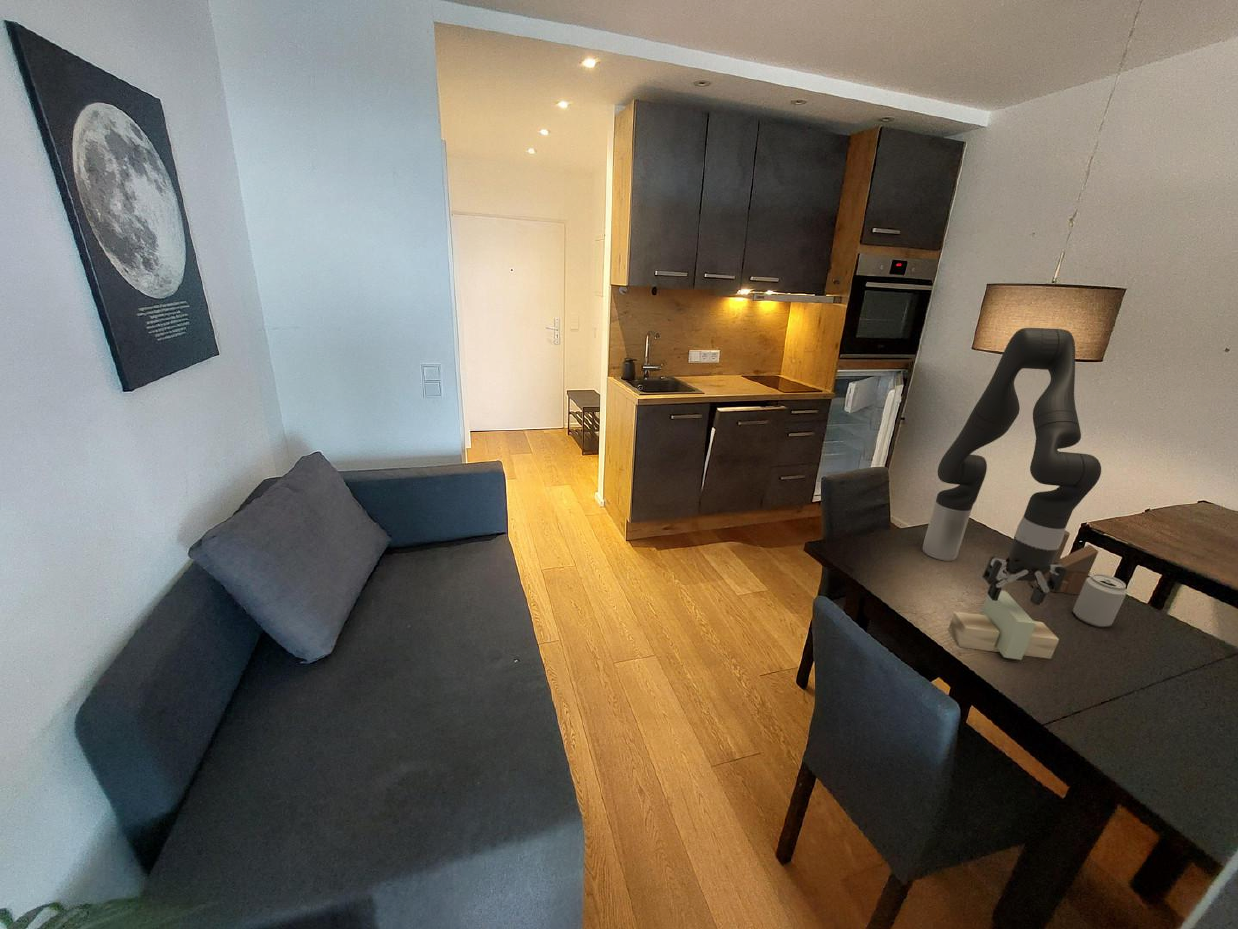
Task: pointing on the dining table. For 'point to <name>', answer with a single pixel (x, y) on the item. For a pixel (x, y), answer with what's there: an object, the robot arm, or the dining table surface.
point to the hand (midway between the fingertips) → (1013, 600)
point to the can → (1100, 600)
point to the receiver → (984, 635)
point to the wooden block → (1073, 567)
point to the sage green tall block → (1009, 625)
